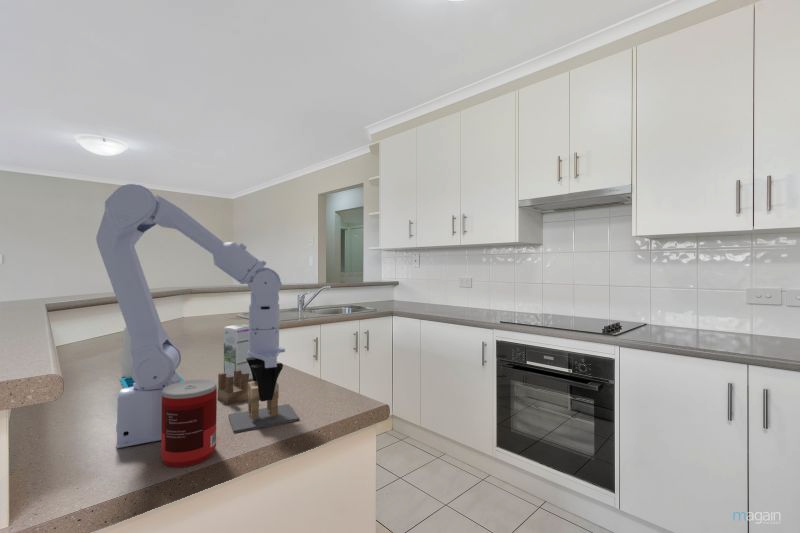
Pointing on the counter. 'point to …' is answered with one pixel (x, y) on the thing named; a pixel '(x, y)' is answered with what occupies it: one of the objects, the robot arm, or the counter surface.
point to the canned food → (188, 422)
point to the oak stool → (254, 400)
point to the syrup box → (236, 350)
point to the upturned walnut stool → (233, 387)
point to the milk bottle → (126, 354)
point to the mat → (262, 418)
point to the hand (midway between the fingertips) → (263, 396)
